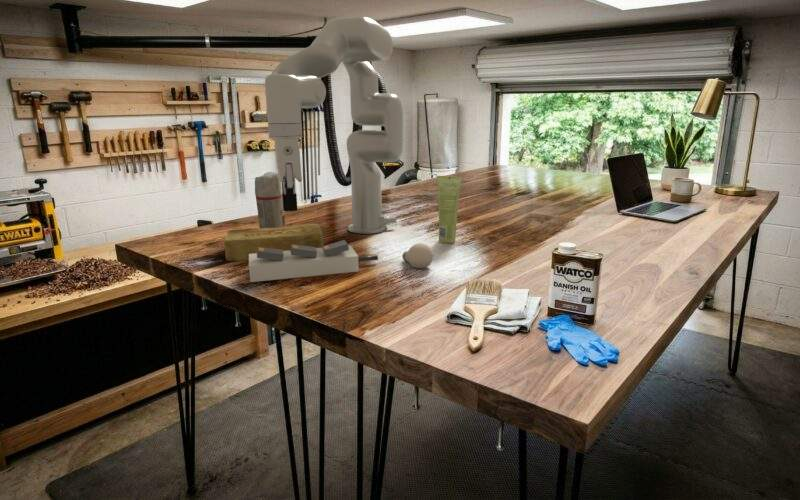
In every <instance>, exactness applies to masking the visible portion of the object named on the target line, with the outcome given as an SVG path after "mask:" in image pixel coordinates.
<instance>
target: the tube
mask: <svg viewBox="0 0 800 500" xmlns="http://www.w3.org/2000/svg"><path fill="white" fill-rule="evenodd" d="M435 178H436V185H437V186H436V187H437V198H438V199H437V202H438V203H437V204H438V241H439V242H440V243H443V244H444V243H446V244H450V243H455V242H456V236H457V235H456V234H457V222H458V210H459V203H460V201H459V200H460V193H461V188H462V187H461V186H462V182H463V176H446V175H436V177H435Z"/></svg>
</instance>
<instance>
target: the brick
mask: <svg viewBox="0 0 800 500" xmlns="http://www.w3.org/2000/svg"><path fill="white" fill-rule="evenodd" d="M291 244H293V245H302V246H311V247H315V248H322V246H325V241H324V233H323V230H322V228H321V226H320V224H319V223H304V224H294V225H288V226H287V225H285V227H279V228H261V229H260V228H239V229H237V228H236V229H231V230H228V231H227V234H226V237H225V238H224V253H225V256H224V257H225V260H226V261H227V262H243V261H244V262H247V261H249V254H254V253H257V247H262V248H271V249H280V250H283V251H289V250H290V248H291Z"/></svg>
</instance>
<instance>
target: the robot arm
mask: <svg viewBox="0 0 800 500" xmlns="http://www.w3.org/2000/svg"><path fill="white" fill-rule="evenodd" d="M393 43H394V42H393V38H392V36H391V33H390V32H389V31H388V30H387V29H386V28H385V27H384V26H382V25H381V24H379V22H377V21H376V20H374V19H372V18H370V17H366V16H350V17H347V16H346V17H336V18H332V19H330V20H328V21H327V22H326V23H325V25H324V26H323V28H322V29H321V30H320V31H319V33H318V34H317V36H316V37H315V38H314V40H312V42H311V44H310V45H309V46H307V47H304V48H303V49H301V50H299V51H298V52H296V53H294V54H292V55H291V56H289V57H287V58H284V59H283V60H282V61H281V62H279V63H278V65H277V66H276V67H275V68H274V70H273V71H272V72H271V73H270V74H269V75H266V77H265V79H264V94H265V104H266V117H267V131H268V139H271V140H272V139H273V140H274V151H275V161H276V162H275V163H276V169H277V173H278V176H279V179H280V181H281V187H282V198H283V210H284V212H297V211H298V199H297V198H298V197H297V193H296V192H297V191H296V181H298V182H299V183H301V182H302V180H303V179H302V178H303V176H302V167H301V166H302V165H301V155H300V153H301V152H300V143H299V139H302V138H303V126H302V125H303V124H302V109H314V108H317V107H319V106H321V105H322V104H323V103H324V101H325V99H326V96H327V89H326V85H325V84H324V82H323V80H322V79H321V78H323V77H326V76H328V75H330V74H334V72H336V70H337V69H338V68H339V66H340V65H341V64H343V66H344V67H345V69H346V71H347V73H348V77H349V86H350V87H349V90H350V91H349V92H350V93H349V95H350V115H351V121H353V123H355V125H358V126H366V127H371V126H372V127H384V130H369V129H368V130H367V129H362V130H360V129H359V130H355V131H352V132H351V133H350V134H349V135H348V137H347V140H346V150H347V155H348V160H349V167H350V179H351V180H350V181H351V182H350V185H351V186H350V187H351V189H350V190H351V211H352V212H351V213H352V223H350V224H349V225H348V226H347V229H348V232H351V233H353V234H360V235H361V234H363V235H364V234H365V235H367V234H368V235H369V234H370V235H372V234H378V233H383V232H384V231H386V230H387V227H388V226H387V225H388V223H389V224H393V223H397V217H396V216H390V215H389V216H388V215H387V216H384V215H383V214H382V213H383V212H382V211H383V210H382V204H383V203H382V175H381V171H380V170H379V168H378V167H377V164H376V163H396V162H399V160H400V159H401V157H402V156H403V155H402V154H403V149H404V147H403V146H404V144H403V143H404V130H403V129H404V124H403V123H404V120H403V119H404V115H403V113H404V112H403V109H404V108H403V103H402V101H401V98H400V97H399V96H398V95H396V94H395V93H389V92H387V93H380V91H379V76H378V72H377V71H376V70H375V68H374V67H373V65H372V64H371V62H386V61H387V60H388V59H390V58H391V56H392V53H393V51H394V50H393V48H394V44H393Z"/></svg>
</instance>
